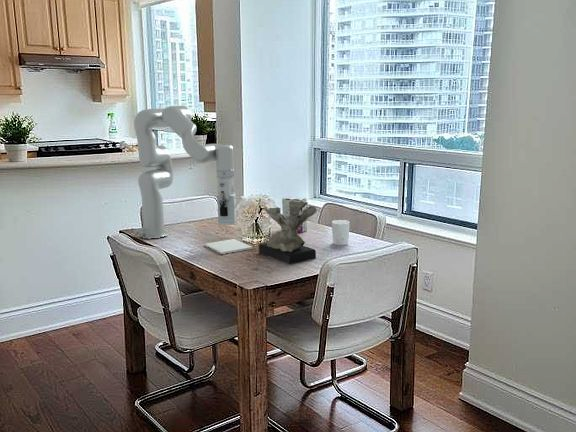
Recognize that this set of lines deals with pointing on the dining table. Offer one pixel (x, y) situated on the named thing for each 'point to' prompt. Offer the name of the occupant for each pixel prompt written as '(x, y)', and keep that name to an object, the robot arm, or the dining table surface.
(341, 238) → the white cup
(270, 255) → the coral
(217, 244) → the tile
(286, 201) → the candy bar box
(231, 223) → the supplement box
